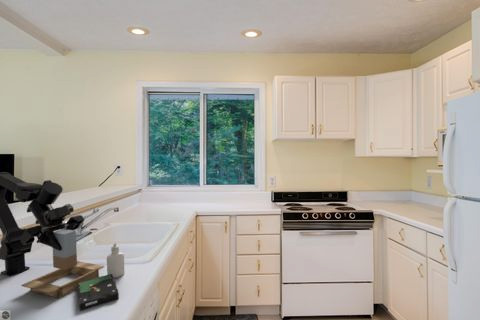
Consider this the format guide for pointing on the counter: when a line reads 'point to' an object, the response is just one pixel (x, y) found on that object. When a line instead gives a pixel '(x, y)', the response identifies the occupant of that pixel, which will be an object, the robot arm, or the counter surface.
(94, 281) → the disk drive
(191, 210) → the counter surface
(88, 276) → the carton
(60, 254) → the box
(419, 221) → the counter surface
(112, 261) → the eye dropper bottle
